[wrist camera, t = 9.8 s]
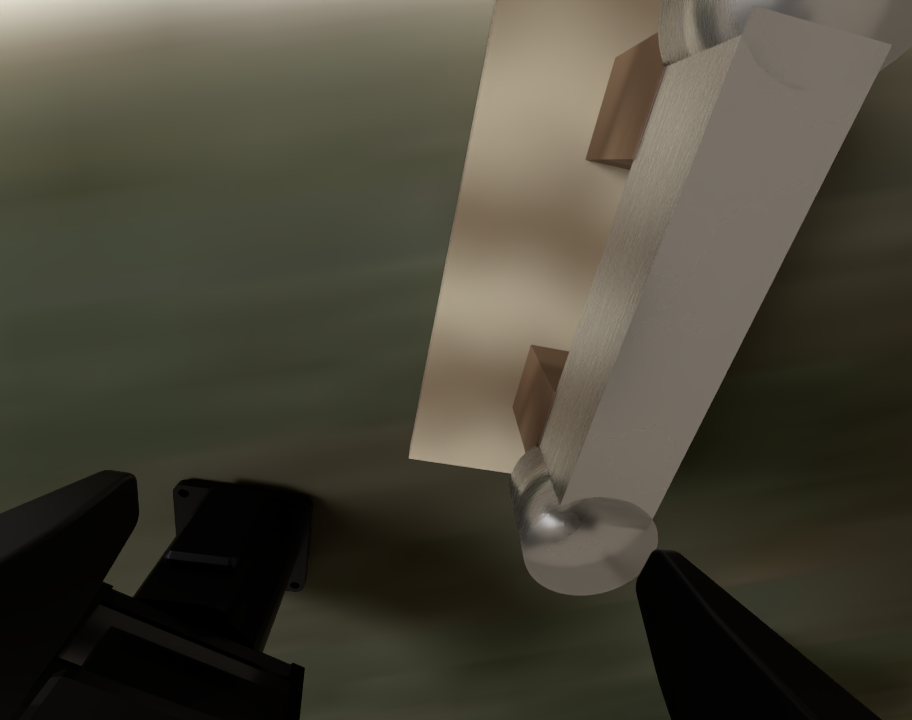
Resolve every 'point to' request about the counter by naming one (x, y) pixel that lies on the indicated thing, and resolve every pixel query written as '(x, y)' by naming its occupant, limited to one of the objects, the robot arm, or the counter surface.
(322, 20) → the counter surface
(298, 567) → the robot arm
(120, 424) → the counter surface
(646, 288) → the grey rod with balls
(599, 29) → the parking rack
